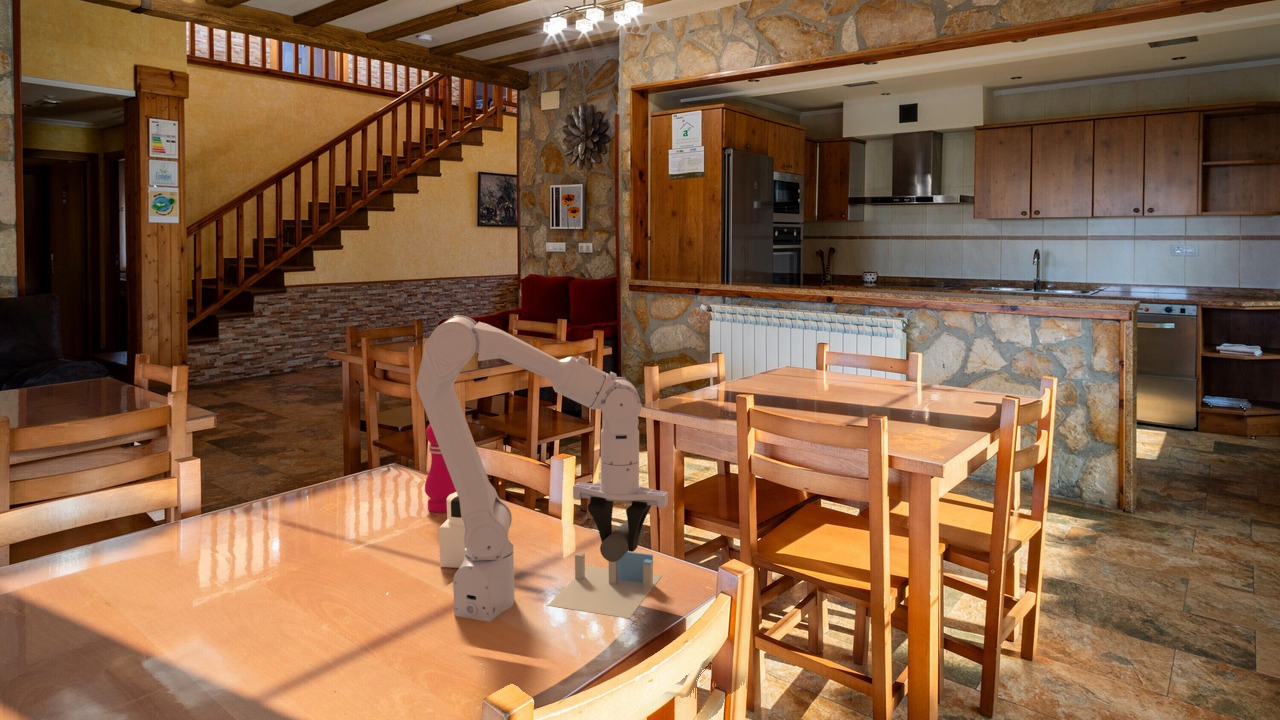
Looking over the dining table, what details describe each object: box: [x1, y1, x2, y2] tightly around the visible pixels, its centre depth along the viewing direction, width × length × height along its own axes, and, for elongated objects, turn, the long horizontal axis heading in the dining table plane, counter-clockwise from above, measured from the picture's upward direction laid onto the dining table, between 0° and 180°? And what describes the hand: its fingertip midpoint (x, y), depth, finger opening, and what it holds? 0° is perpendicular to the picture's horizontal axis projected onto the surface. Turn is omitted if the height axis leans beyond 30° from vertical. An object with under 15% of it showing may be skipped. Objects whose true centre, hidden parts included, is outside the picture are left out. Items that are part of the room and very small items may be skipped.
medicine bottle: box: [438, 492, 465, 569], centre depth 142 cm, size 7×7×12 cm
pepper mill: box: [424, 423, 456, 514], centre depth 169 cm, size 7×7×20 cm
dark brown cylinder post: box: [599, 520, 645, 562], centre depth 126 cm, size 10×4×4 cm, turn 161°
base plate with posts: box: [546, 551, 663, 619], centre depth 128 cm, size 16×13×6 cm
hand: (620, 547), depth 125 cm, fingers closed on dark brown cylinder post, 4 cm apart
